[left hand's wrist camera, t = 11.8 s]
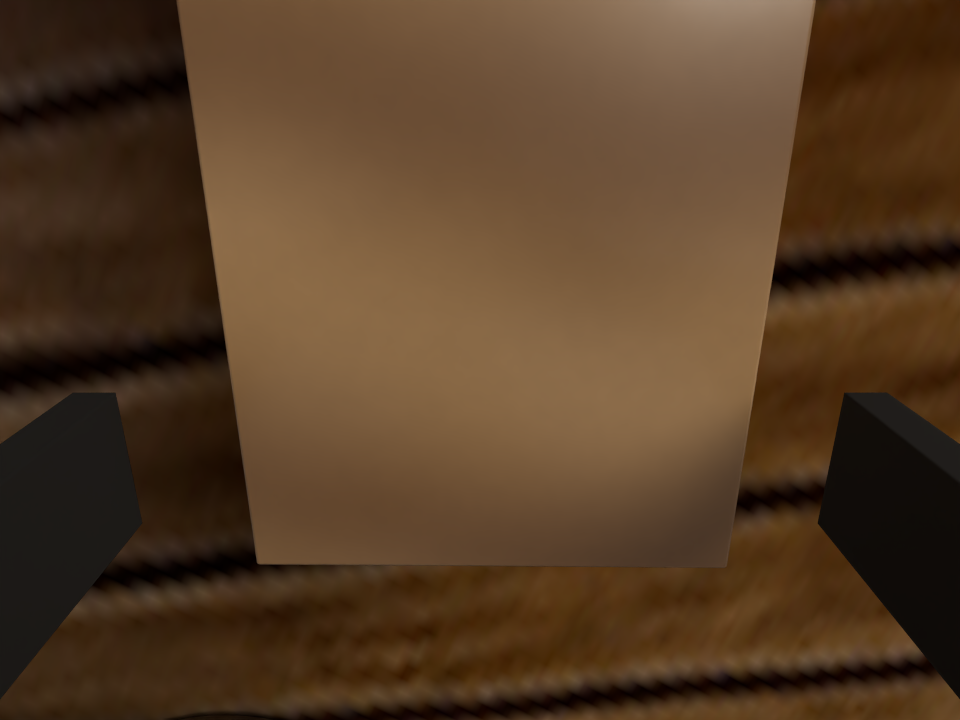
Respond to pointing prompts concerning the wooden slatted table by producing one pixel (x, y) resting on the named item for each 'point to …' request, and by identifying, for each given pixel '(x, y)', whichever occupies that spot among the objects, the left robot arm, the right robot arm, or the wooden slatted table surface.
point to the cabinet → (494, 268)
